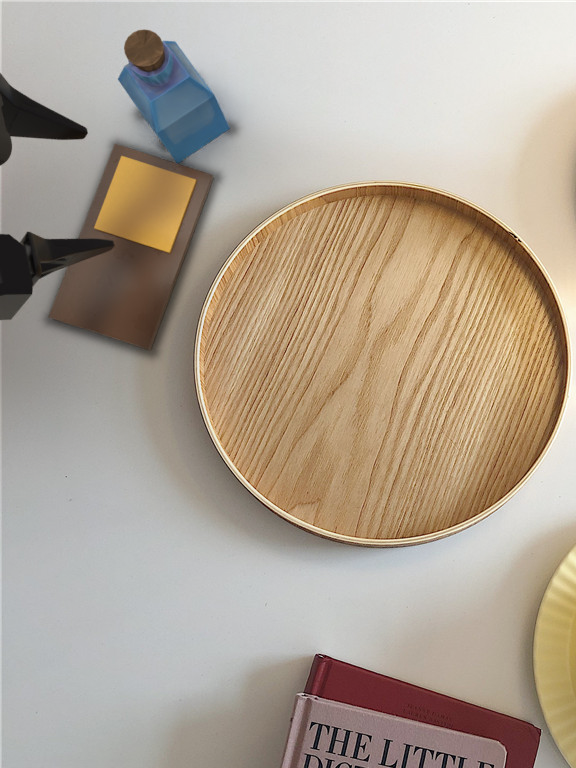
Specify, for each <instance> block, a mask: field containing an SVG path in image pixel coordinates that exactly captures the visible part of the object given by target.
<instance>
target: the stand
mask: <svg viewBox="0 0 576 768" xmlns="http://www.w3.org/2000/svg"><path fill="white" fill-rule="evenodd" d="M214 179H215V178H214V175H213V174H211V173H208V172H205V171H201V170H199V169H195V168H192V167H189V166H187V165H183V164H180V163H178V164H177V162H173V161H170V160H168V159H165V158H161V157H158V156H155V155H152V154H149V153H145V152H143V151H141V150H140V151H139V150H137V149H133V148H131V147H128V146H124V145H121V144H118V143H114V144H113V147H112V149H111V152H110V155H109V158H108V160H107V163H106V166H105V168H104V171H103V173H102V176H101V178H100V181H99V184H98V185H97V186H98V187H97V189H96V191H95V195H94V197H93V200H92V203H91V204H90V206H89V210H88V213H87V215H86V217H85V220H84V222H83V226H82V228H81V231H80V233H79V236H78V238H77V239H89V238H96V239H105V240H112V241H114V244H115V246H114V247H113V248H112V250H110V251H108V252H105V253H103V254H100V255H97V256H94V257H92V258H89V259H86V260H84V261H81V262H78V263H76V264H73V265H70V266H67V267H66V270H65V273H64V276H63V278H62V281H61V283H60V285H59V288H58V291H57V294H56V297H55V299H54V301H53V305H52V306H51V309H50V312H49V315H48V318H50V319H52V320H56V321H58V322H62V323H65V324H68V325H70V326H71V325H72V326H75V327H78V328H81V329H84V330H87V331H90V332H93V333H96V334H99V335H102V336H105V337H108V338H110V339H111V338H112V339H115V340H118V341H121V342H124V343H127V344H130V345H134V346H136V347H140V348H142V349H146V350H147V351H148V350H149V351H151V350H152V348H153V345H154V343H155V340H156V338H157V335H158V331H159V330H160V329H159V328H160V326H161V324H162V321H163V318H164V315H165V312H166V309H167V307H168V304H169V301H170V298H171V296H172V293H173V290H174V287H175V285H176V282H177V279H178V276H179V274H180V271H181V270H182V269H181V268H182V265H183V263H184V260H185V257H186V254H187V252H188V248H189V247H190V243H191V241H192V239H193V235H194V232H195V230H196V227H197V225H198V221H199V219H200V216H201V213H202V211H203V208H204V205H205V202H206V200H207V197H208V194H209V191H210V189H211V186H212V184H213V180H214Z"/></svg>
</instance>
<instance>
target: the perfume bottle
mask: <svg viewBox="0 0 576 768" xmlns="http://www.w3.org/2000/svg"><path fill="white" fill-rule="evenodd" d="M123 51H124V55H125V57H126V59H127V61H128V63H127V64H125V65H124V66H123V68H122V69H121V72H120V74H119V76H118V78H117V81H118V82H119V83H120V85H121V86H122V88H123V89H124V90H125V93H126V94H127V95H128V97H129V99H131V101H132V102H133V104H134V105H135V107H136V108H137V110H138V111H139V112H140V114H141V115H142V117H143V118H144V119H145V121H146V123H147V124H148V125H149V127H150V128H151V130H153V132H154V133H155V135H156V136H157V138H158V139H159V140H160V142H161V143H162V144H163V146H164V148H165V149H166V150H167V152H168V153H169V154H170V155H171V157H172V158H173V160H174V161H175V163H177V164H180V163H181V162H183V161H184V160H185V159H188V157H190V156H191V155H192V154H195V153H196V152H197V151H199V150H201V149H202V148H203V147H205V146H206V145H207V144H209V143H211V142H212V141H214V140H215V139H217V138H218V137H220V136H221V135H223V134H224V133H226V132H227V131H229V130H230V128H231V127H230V125H229V123H228V121H227V119H226V117H225V114H224V112H223V110H222V108H221V106H220V104H219V101H218V99H217V97H216V95H215V93H214V92H213V91H212V89H211V88H210V86H209V85H208V83H206V81H205V79H204V78H203V77H202V75H201V74H200V73H199V72H198V70H197V69H196V68H195V66H194V65H193V64H192V62H191V61H190V59H189V58H188V57H187V55H186V54H185V52H184V51H183V50H182V48H181V47H180V45H179V44H178V43H177V42H176V41H175V40H162V38H161V37H160V35H158V34H157V32H155V31H153V30H151V29H145V28H144V29H138V30H136V31H133V32H132V33H130V34H129V36H127V38H126V40H125V42H124V45H123Z"/></svg>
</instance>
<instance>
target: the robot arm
mask: <svg viewBox="0 0 576 768" xmlns="http://www.w3.org/2000/svg"><path fill="white" fill-rule="evenodd" d="M88 134H89V132H88V128H87V127H86V126H84V125H82V124H80V123H78V122H77V121H75V120H72V119H71V118H69V117H67V116H65V115H63V114H61V113H59V112H57V111H56V110H53V109H51V108H50V107H47V106H46V105H43V104H42V103H40V102H38V101H36V100H34V99H33V98H31V97H29V96H27V95H26V94H24V93H22V92H21V91H19V90H17V89H16V88H14V86H12V84H10V82H8V81H7V79H6V78H5V76H4V75H3V74H2V72H0V167H1V166H3V165H4V164H6V162H8V160H9V159H10V157H11V155H12V153H13V152H12V151H13V141H12V138H13V137H15V138H28V139H42V140H57V141H73V140H84V139H86V137H87V135H88ZM114 246H115V244H114V241H112V240H105V239H96V238H89V239H78V238H44V237H42V236H40V235H38V234H36V233H33V232H31V231H26V233H25V234H24V235H23V237H22V238H21V240H20V241H18V239H16V238H15V237H14V236H12V235H10V233H9V234H8V233H0V321H11V320H12V319H13V318H14V317H15V316H16V314H18V312H20V310H21V308H22V307H23V306H24V305H25V304H26V302H27V301H28V300H29V299H30V298H31V296H32V295H33V289H34V286H35V285H36V283H37V282H38V281H39V280H41V279H43V278H44V277H47V276H48V275H50V274H52V273H55V272H57V271H60V270H62V269H64V268H67V267H68V266H70V265H73V264H76V263H78V262H81V261H84V260H86V259H89V258H92V257H94V256H97V255H100V254H103V253H105V252H108V251H110V250H112V248H113V247H114Z"/></svg>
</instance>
